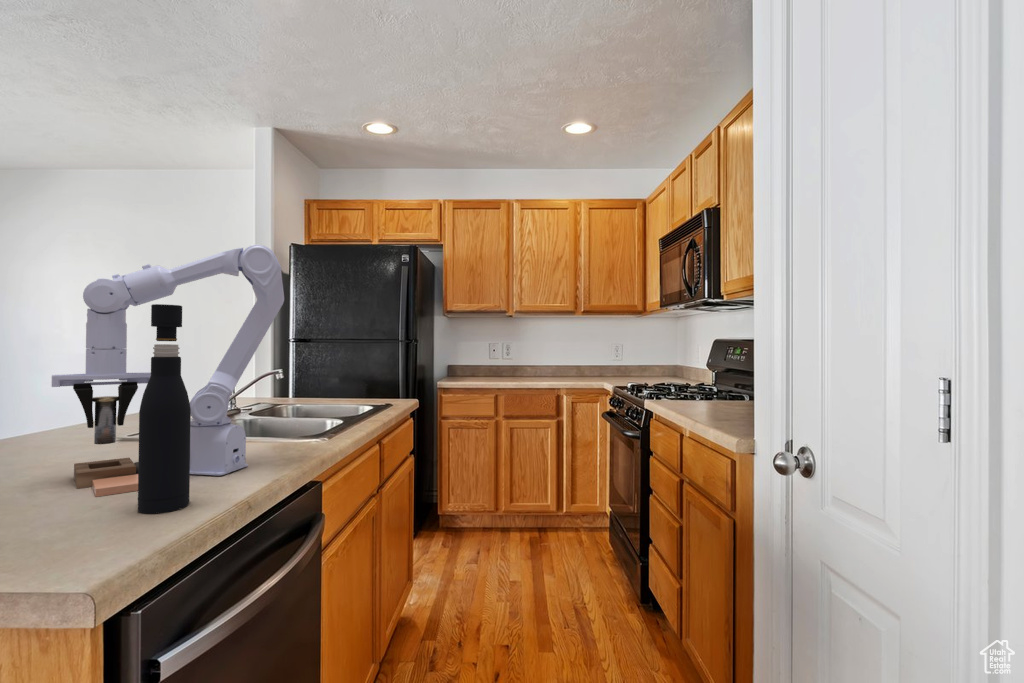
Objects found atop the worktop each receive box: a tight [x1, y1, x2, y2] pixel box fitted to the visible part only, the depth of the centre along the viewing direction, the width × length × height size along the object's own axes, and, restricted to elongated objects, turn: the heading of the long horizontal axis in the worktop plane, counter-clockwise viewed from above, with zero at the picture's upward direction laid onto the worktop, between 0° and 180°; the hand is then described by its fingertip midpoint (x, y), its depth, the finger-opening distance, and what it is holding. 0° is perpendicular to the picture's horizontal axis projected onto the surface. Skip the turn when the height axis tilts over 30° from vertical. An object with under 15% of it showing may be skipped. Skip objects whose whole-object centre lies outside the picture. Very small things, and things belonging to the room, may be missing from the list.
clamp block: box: [73, 457, 139, 490], centre depth 94 cm, size 9×10×2 cm
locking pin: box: [93, 395, 119, 445], centre depth 93 cm, size 4×4×8 cm
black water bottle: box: [137, 303, 192, 515], centre depth 78 cm, size 6×6×30 cm
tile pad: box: [91, 474, 138, 497], centre depth 88 cm, size 7×7×1 cm
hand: (105, 426), depth 93 cm, fingers closed on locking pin, 4 cm apart
